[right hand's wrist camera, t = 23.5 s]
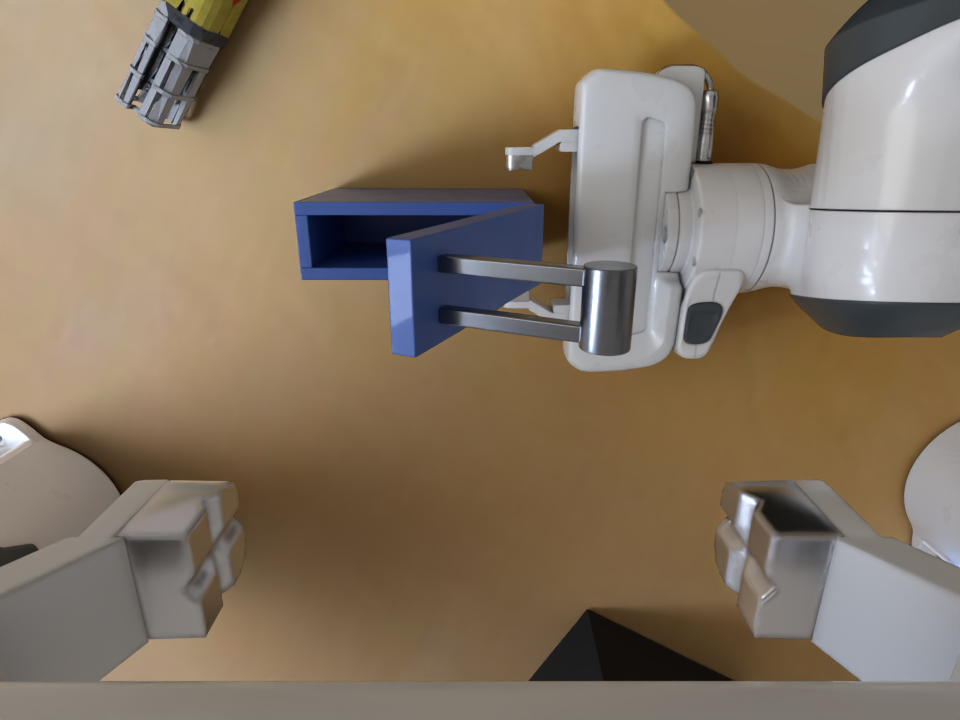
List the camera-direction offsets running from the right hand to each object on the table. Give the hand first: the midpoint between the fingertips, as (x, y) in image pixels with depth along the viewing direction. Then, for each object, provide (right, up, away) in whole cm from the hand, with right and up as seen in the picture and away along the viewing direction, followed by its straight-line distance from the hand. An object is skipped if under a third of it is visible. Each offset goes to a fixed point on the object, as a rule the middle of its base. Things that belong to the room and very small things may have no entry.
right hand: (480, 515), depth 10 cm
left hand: (+2, +12, +32) cm, 34 cm away
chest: (-4, +13, +37) cm, 40 cm away
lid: (-1, +7, +20) cm, 22 cm away
